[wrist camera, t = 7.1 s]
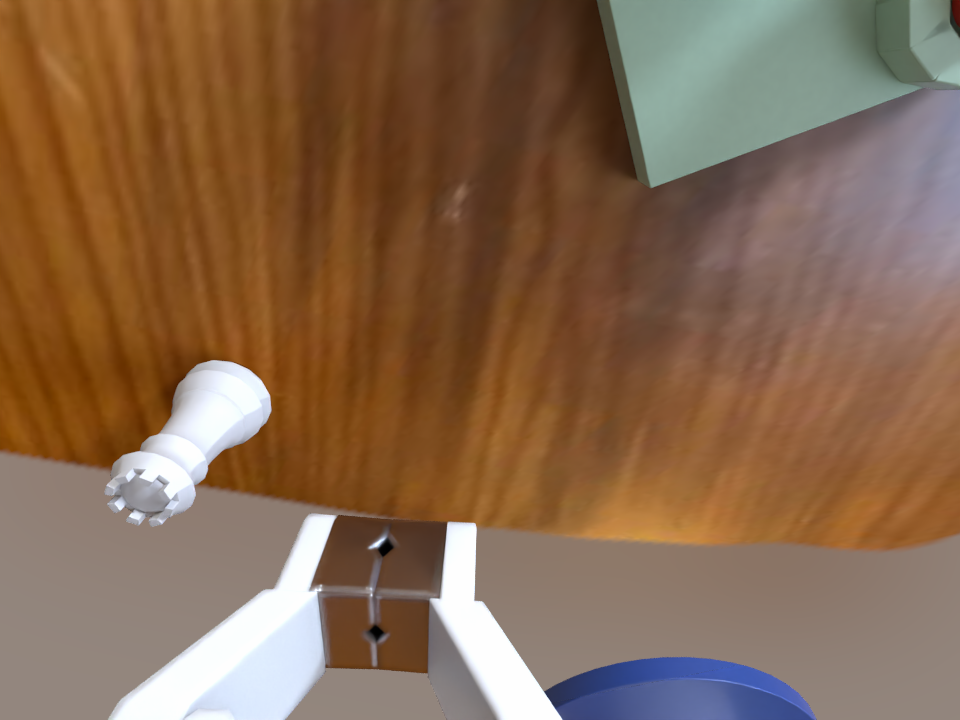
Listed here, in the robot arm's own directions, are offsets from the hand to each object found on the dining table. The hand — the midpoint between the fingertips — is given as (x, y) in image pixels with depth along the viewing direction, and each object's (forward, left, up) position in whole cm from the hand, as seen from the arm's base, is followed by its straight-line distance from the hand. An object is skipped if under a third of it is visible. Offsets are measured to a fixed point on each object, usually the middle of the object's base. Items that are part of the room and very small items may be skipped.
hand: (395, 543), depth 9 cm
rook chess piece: (-2, +13, -16) cm, 21 cm away
